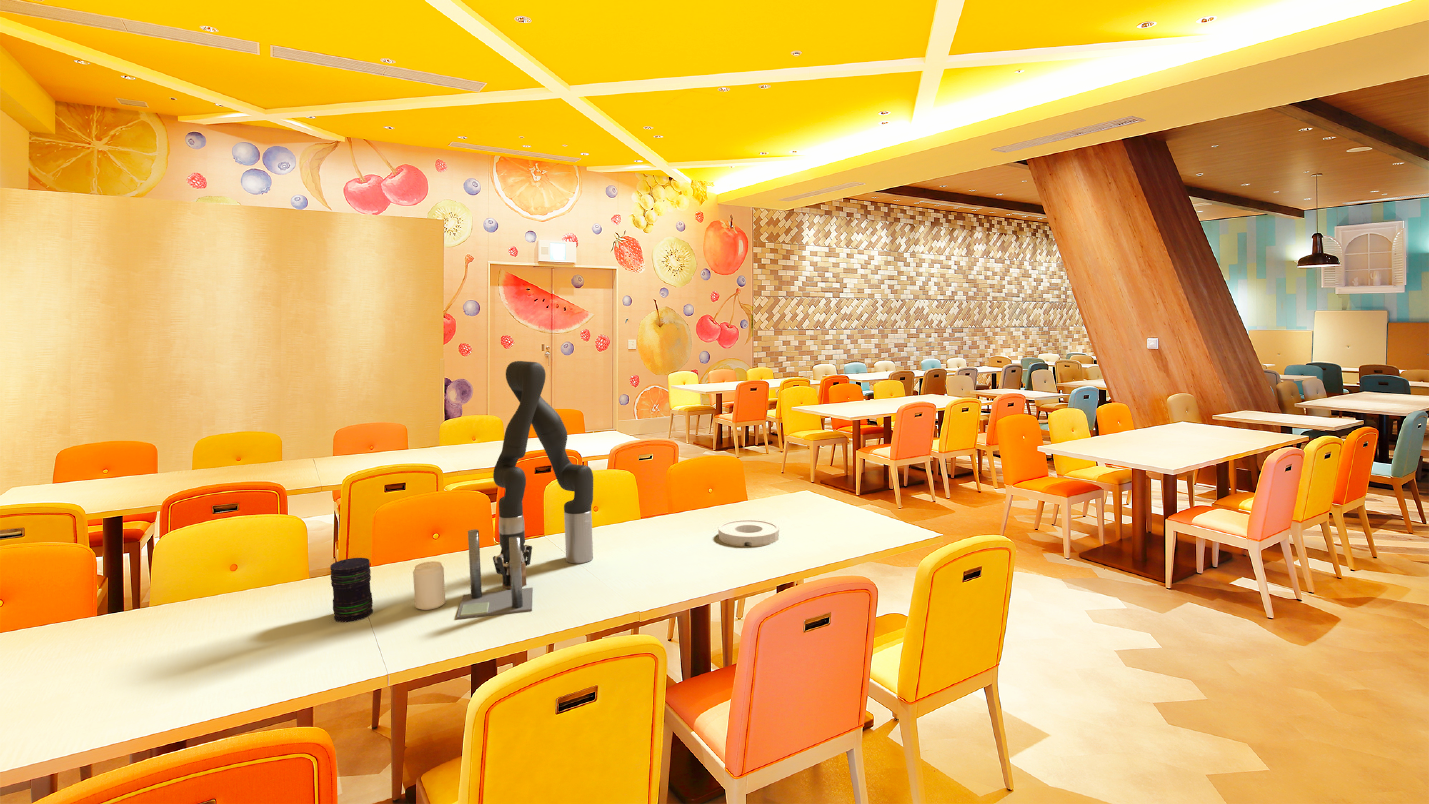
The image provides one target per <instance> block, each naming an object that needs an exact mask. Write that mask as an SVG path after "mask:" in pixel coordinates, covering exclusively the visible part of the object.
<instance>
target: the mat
mask: <svg viewBox="0 0 1429 804" xmlns="http://www.w3.org/2000/svg"><path fill="white" fill-rule="evenodd" d="M533 590H534V589H533V587H526V588H524V587H522V596H523V607H521V608H516V609H515V608H512V597H511V589H505V590H495V591H487V592H482V597H481V598H478V599H472V598H471V593H468V594H467V593H466V594H463V595H462V598H461V600H460V604H459V608H458V611H457V615H456V620H462V619H472V618H480V617H490V616H498V615H506V614H507V615H508V614H516V613H523V612H525V613H526V612H532V611H533ZM481 603H485V604H486V603H488V605H487V604H486V605H487V607H488V608H487V612H486V610H485V612H483V611H482V610H483V608H481V607H480V608H481V609H482V610H481V611H482V612H481V611H479V613H474V612H475V610H476V609H477V608H475V606H476V605H477V604H478V606H479V605H481ZM470 604H472V605H473V604H476V605H473V607H474V608H472V609H473V610H474V609H475V610H474V612H473V613H472V612H471V613H470V611H469V610H471V608H470V609H469V608H466V610H468V611H466V610H465V607H463V606H467V607H469V605H470ZM472 605H471V606H472ZM482 605H484V604H482ZM486 605H484V606H486ZM471 606H470V607H471ZM482 607H483V606H482ZM463 608H464V612H462V610H463ZM480 608H479V610H480ZM484 608H485V607H484ZM485 609H486V608H485ZM473 610H471V611H473ZM465 611H466V612H468V614H467V613H465ZM476 611H477V610H476ZM461 612H462V613H461ZM463 613H464V614H463Z"/></svg>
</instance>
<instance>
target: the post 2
mask: <svg viewBox="0 0 1429 804" xmlns="http://www.w3.org/2000/svg"><path fill="white" fill-rule="evenodd" d="M509 551H510V574H511V589H510V590H511V597H512V608H515V609H516V608H521V607H523V596H522V589H523V586H522V572H521V548H520V537H519V536H514V537H510V538H509Z"/></svg>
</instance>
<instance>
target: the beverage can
mask: <svg viewBox="0 0 1429 804" xmlns="http://www.w3.org/2000/svg"><path fill="white" fill-rule="evenodd" d="M442 564H443V563H442V562H440V561H436V560H434V561H431V560H430V561H426V562H425V561H424V562H421V563H418V564H416V565H415V566H414V570H413V571H412V574H413V576H412V577H413V590H414V591H413V592H414V606H415V608H416V609H418V610H419V609H420V610H422V611H423V610H424V611H431V610H435V609H438V608H440V607H442V606H443V605H444V604H445V603H446V588H445V587H446V585H445V568H444V566H443V565H442Z"/></svg>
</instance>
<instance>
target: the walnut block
mask: <svg viewBox="0 0 1429 804" xmlns="http://www.w3.org/2000/svg"><path fill="white" fill-rule="evenodd" d="M506 563H507V562H506ZM507 564H509V563H507ZM526 568H527V566H526V565H525V563H524V562H523V563H521V572H522V587H524V586H527V569H526ZM506 569H507V567H506ZM509 575H510V583H511V574H509ZM501 576H502V577H501V581H502V588H505V589H507V590H511V585H510V586H509V587H507V586H505V585H504V584H503V575H501Z"/></svg>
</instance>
